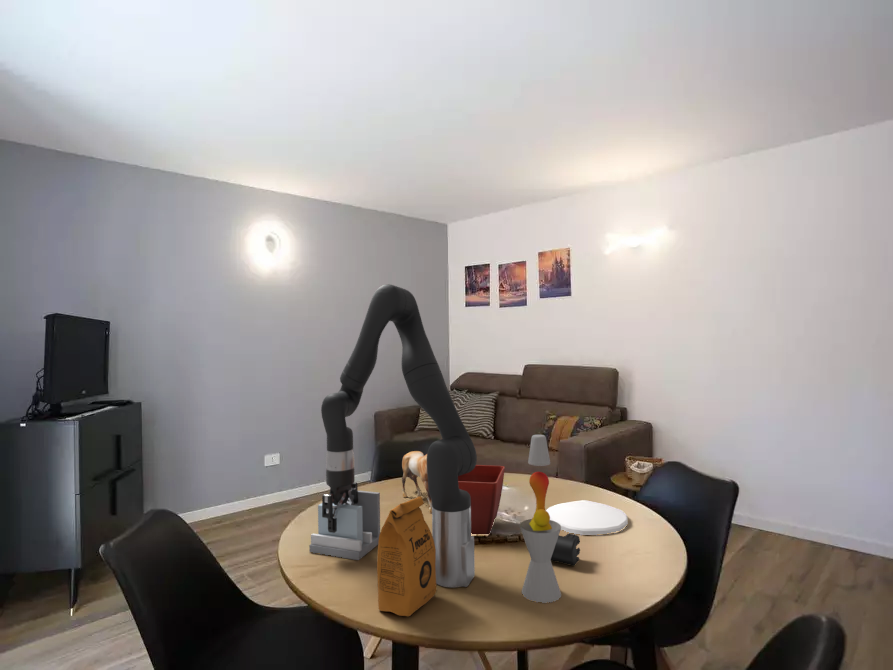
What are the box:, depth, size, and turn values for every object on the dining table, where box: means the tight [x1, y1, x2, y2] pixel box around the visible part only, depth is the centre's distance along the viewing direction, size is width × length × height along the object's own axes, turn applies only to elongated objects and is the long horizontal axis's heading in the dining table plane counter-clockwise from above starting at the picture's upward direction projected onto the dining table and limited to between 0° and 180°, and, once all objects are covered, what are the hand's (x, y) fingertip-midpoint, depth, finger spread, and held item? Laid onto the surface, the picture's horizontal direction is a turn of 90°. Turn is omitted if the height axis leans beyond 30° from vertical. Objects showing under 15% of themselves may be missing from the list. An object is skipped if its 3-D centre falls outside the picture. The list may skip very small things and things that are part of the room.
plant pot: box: [458, 464, 506, 534], centre depth 155 cm, size 19×19×17 cm
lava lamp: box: [519, 434, 562, 604], centre depth 115 cm, size 9×9×35 cm
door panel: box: [317, 502, 363, 544], centre depth 140 cm, size 12×3×10 cm, turn 69°
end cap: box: [551, 533, 581, 567], centre depth 132 cm, size 10×7×7 cm
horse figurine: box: [401, 450, 432, 514], centre depth 180 cm, size 31×8×21 cm, turn 28°
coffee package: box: [376, 496, 437, 617], centre depth 111 cm, size 10×12×22 cm
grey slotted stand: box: [308, 489, 381, 561], centre depth 142 cm, size 15×12×14 cm
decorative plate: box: [545, 499, 629, 536], centre depth 160 cm, size 25×4×25 cm
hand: (341, 526), depth 140 cm, fingers open, 8 cm apart
